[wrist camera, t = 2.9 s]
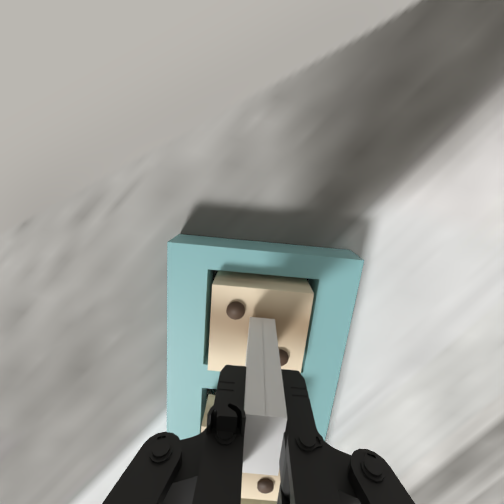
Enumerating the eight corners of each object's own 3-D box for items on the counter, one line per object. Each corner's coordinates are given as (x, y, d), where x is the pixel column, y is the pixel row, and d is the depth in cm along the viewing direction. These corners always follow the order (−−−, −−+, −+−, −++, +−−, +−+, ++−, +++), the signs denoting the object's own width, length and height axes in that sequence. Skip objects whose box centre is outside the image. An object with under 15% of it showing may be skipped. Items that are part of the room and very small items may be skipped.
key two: (281, 463, 20) (285, 505, 17) (204, 456, 20) (197, 497, 17) (291, 401, 18) (297, 437, 16) (208, 394, 18) (200, 429, 16)
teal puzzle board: (295, 521, 25) (299, 556, 23) (175, 510, 25) (166, 545, 23) (349, 249, 18) (364, 260, 16) (179, 234, 18) (167, 242, 15)
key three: (294, 353, 19) (300, 380, 16) (213, 346, 19) (206, 372, 16) (305, 278, 17) (314, 295, 15) (218, 270, 17) (211, 285, 15)
